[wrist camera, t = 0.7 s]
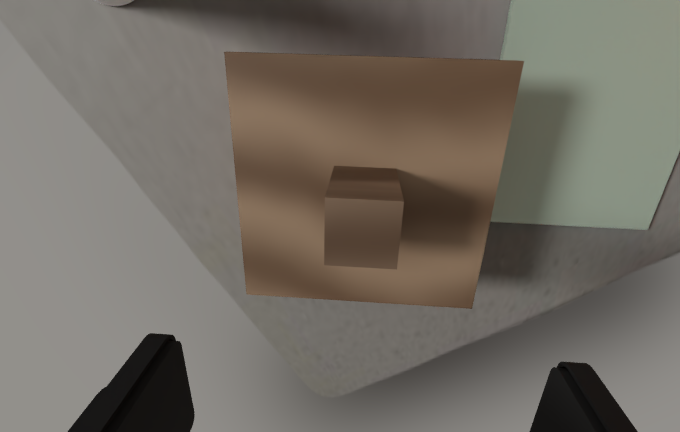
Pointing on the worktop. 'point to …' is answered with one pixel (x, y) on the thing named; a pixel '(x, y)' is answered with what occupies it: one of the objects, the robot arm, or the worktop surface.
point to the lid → (367, 173)
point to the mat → (591, 112)
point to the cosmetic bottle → (114, 2)
